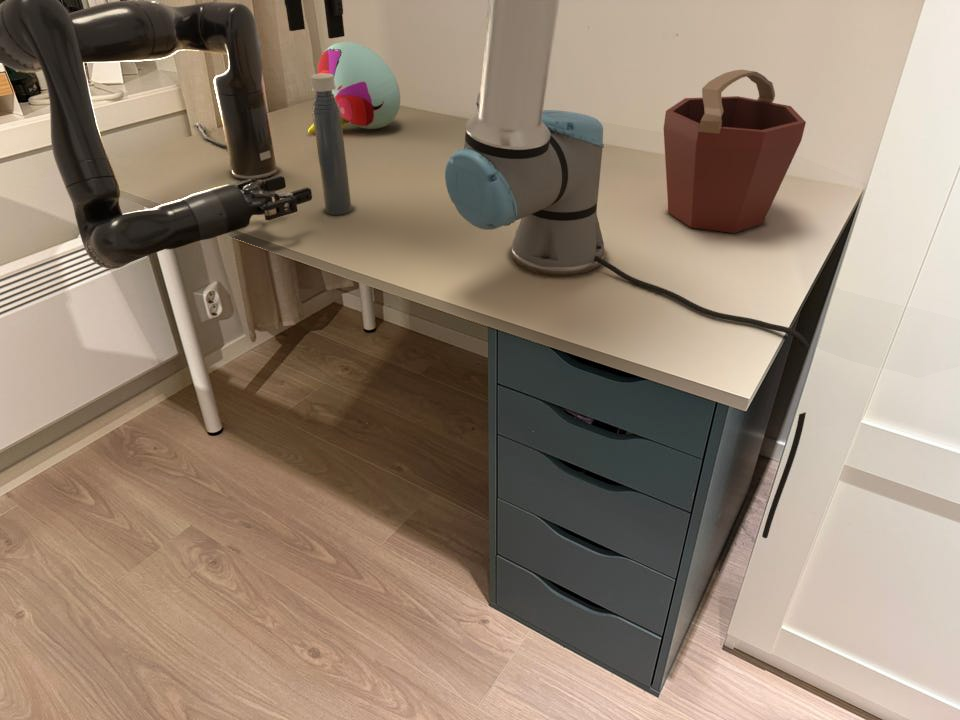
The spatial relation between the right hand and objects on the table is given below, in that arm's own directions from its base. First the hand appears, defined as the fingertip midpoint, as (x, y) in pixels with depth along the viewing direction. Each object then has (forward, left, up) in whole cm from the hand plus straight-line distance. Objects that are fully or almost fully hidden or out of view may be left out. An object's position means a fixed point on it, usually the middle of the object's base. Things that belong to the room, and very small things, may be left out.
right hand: (316, 33), depth 118 cm
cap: (0, 0, -7) cm, 7 cm away
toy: (+52, -16, -31) cm, 63 cm away
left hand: (-3, +7, -24) cm, 26 cm away
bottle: (0, 0, -31) cm, 31 cm away
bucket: (-30, -64, -31) cm, 77 cm away
